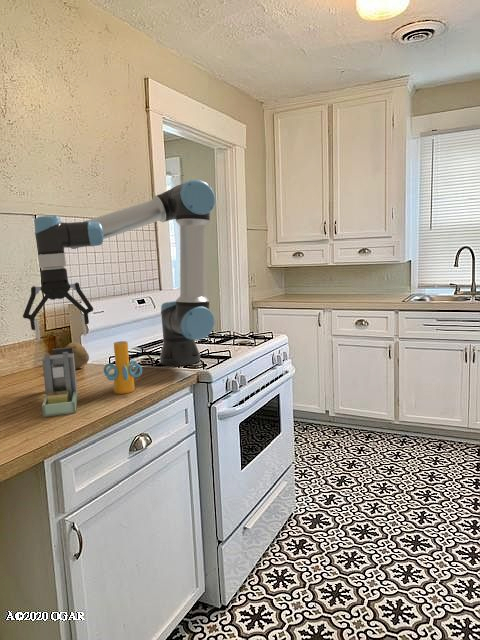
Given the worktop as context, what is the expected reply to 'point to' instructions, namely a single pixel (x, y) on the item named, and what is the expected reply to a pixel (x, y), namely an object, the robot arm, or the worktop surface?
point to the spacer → (58, 397)
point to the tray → (59, 407)
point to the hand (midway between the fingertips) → (62, 337)
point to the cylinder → (122, 369)
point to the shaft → (59, 368)
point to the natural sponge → (79, 354)
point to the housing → (60, 382)
